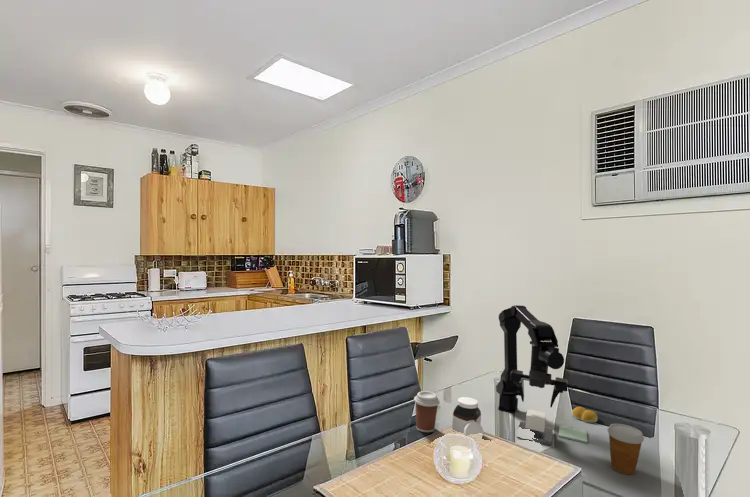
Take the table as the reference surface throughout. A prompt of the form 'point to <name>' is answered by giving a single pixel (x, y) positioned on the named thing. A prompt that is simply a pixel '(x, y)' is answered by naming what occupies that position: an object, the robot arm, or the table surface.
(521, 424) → the post stand
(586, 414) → the bread roll
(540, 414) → the beige block
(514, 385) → the robot arm
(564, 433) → the pad
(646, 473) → the table surface
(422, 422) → the coffee cup
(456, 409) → the spread jar
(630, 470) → the disposable coffee cup
